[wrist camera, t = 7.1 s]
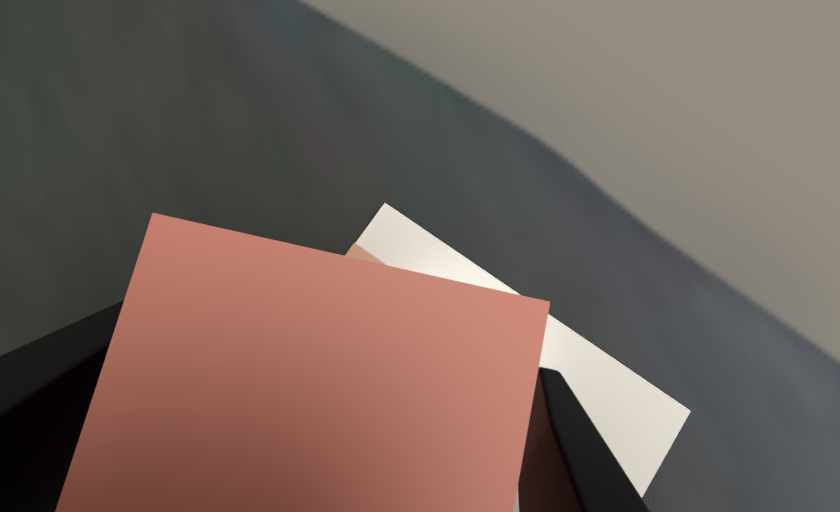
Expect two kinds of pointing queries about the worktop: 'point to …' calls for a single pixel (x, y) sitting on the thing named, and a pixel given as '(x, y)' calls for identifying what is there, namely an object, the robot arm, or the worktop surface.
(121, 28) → the worktop surface
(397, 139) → the worktop surface
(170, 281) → the block
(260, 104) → the worktop surface
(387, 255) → the board
